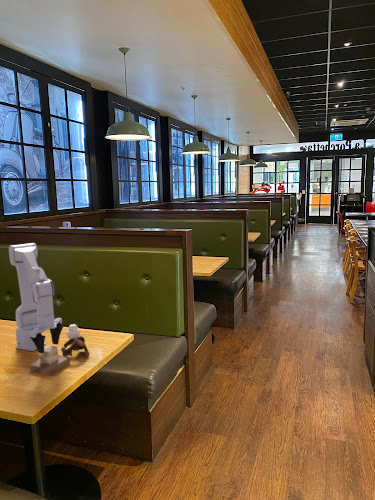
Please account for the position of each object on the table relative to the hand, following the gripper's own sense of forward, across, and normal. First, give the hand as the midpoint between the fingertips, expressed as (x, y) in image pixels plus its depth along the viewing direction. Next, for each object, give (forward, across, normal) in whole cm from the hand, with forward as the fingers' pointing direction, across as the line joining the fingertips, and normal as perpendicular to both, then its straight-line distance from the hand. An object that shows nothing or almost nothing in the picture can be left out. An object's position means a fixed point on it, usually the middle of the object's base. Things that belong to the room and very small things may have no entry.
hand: (48, 348), depth 139 cm
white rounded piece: (+8, +24, +8) cm, 26 cm away
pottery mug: (+8, +12, -3) cm, 15 cm away
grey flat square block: (+8, 0, 0) cm, 8 cm away
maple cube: (+5, 0, 0) cm, 5 cm away
